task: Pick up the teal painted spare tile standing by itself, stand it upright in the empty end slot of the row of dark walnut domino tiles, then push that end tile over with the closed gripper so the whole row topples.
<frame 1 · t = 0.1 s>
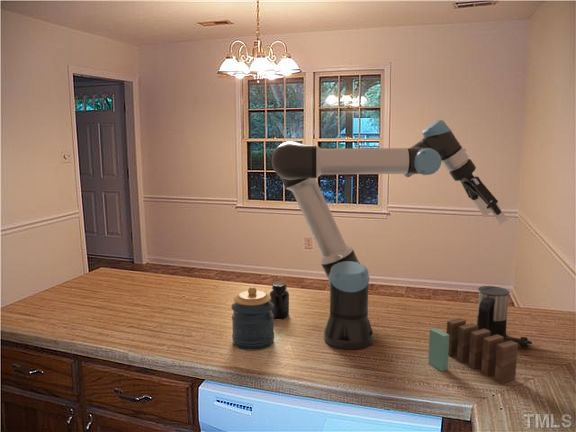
hand: (495, 218, 154), 36 cm above the countertop, tool tilted 35°, fingers open, 13 cm apart
domino 2: (466, 359, 135), on the countertop
milk frother: (502, 340, 148), on the countertop
domino 5: (504, 380, 124), on the countertop
domino 1: (454, 353, 139), on the countertop
domino 4: (491, 372, 127), on the countertop
domino 3: (478, 366, 131), on the countertop
canister: (253, 342, 148), on the countertop
supplement bottle: (279, 317, 168), on the countertop
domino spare: (437, 366, 131), on the countertop
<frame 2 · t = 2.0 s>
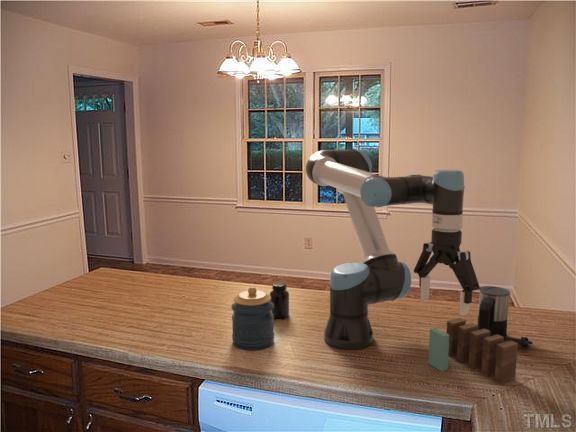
hand: (443, 306, 129), 17 cm above the countertop, tool pointing down, fingers open, 13 cm apart
nothing on the countertop moved.
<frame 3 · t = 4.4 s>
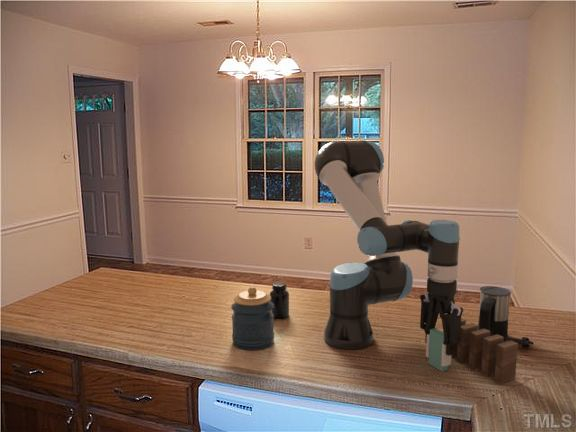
hand: (438, 360, 131), 2 cm above the countertop, tool pointing down, fingers closed on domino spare, 5 cm apart
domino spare: (437, 366, 131), on the countertop, touching gripper
everything else where it was.
when the fingers open (3 cm above the countertop, at t = 8.9 s): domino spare stays where it is, on the countertop.
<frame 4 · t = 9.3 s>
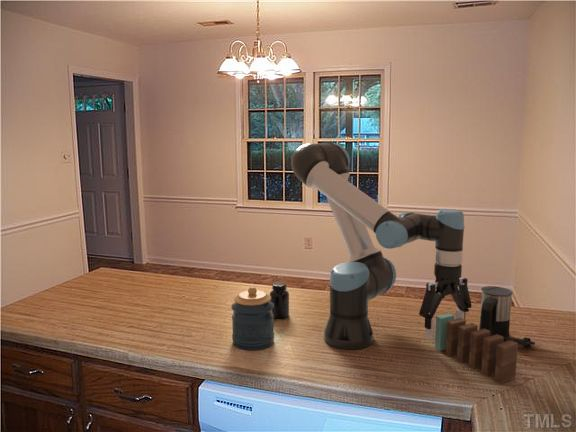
hand: (444, 334, 142), 4 cm above the countertop, tool pointing down, fingers open, 11 cm apart
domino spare: (443, 347, 142), on the countertop
everything else where it was.
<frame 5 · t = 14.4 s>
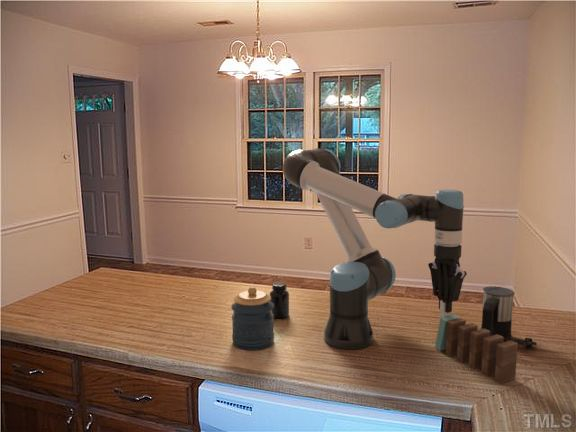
hand: (444, 321, 142), 8 cm above the countertop, tool pointing down, fingers closed
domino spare: (443, 347, 142), on the countertop, tilted 10°
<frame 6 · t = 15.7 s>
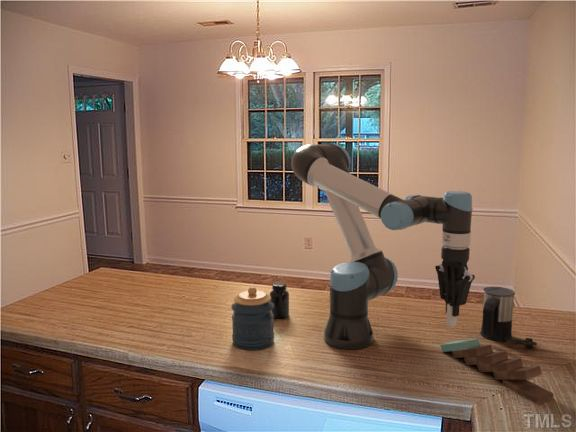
hand: (451, 325, 139), 8 cm above the countertop, tool pointing down, fingers closed
domino 2: (471, 359, 133), point 1 cm above the countertop, tilted 63°, touching domino 1, domino 3
domino 5: (509, 380, 122), on the countertop, tilted 90°, touching domino 4
domino 1: (459, 352, 137), point 1 cm above the countertop, tilted 63°, touching domino 2, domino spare
domino 4: (501, 373, 125), point 1 cm above the countertop, tilted 64°, touching domino 3, domino 5
domino 3: (484, 365, 129), point 1 cm above the countertop, tilted 64°, touching domino 2, domino 4
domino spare: (447, 346, 141), point 1 cm above the countertop, tilted 63°, touching domino 1
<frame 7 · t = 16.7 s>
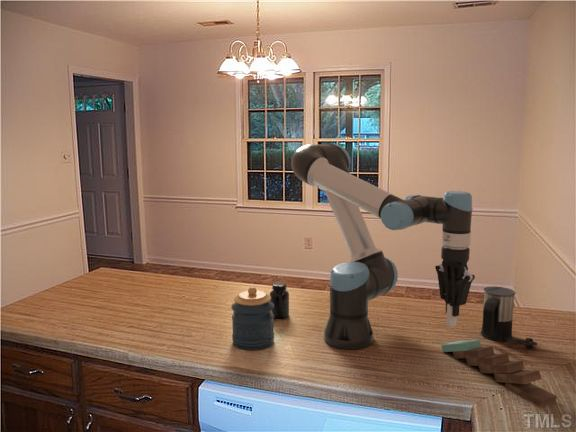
hand: (451, 325, 139), 8 cm above the countertop, tool pointing down, fingers closed
domino 2: (474, 360, 132), point 1 cm above the countertop, tilted 64°, touching domino 3
domino 5: (512, 383, 121), on the countertop, tilted 90°
domino 1: (460, 353, 137), point 1 cm above the countertop, tilted 65°, touching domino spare
domino 4: (502, 375, 124), point 1 cm above the countertop, tilted 66°
domino 3: (486, 367, 129), point 1 cm above the countertop, tilted 64°, touching domino 2
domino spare: (448, 346, 141), point 1 cm above the countertop, tilted 65°, touching domino 1
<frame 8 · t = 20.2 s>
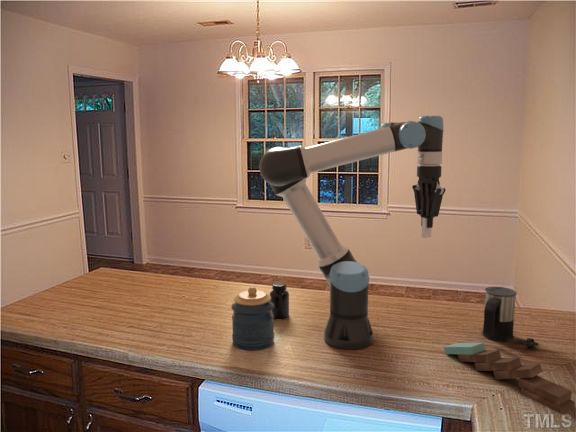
hand: (426, 237, 157), 29 cm above the countertop, tool pointing down, fingers closed
domino 2: (481, 364, 130), point 1 cm above the countertop, tilted 67°, touching domino 1, domino 3
domino 5: (527, 389, 118), on the countertop, tilted 90°, touching domino 4
domino 1: (464, 355, 135), point 1 cm above the countertop, tilted 68°, touching domino 2, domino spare
domino 4: (525, 379, 119), point 2 cm above the countertop, tilted 90°, touching domino 3, domino 5
domino 3: (499, 372, 125), point 1 cm above the countertop, tilted 65°, touching domino 2, domino 4
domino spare: (451, 348, 139), point 1 cm above the countertop, tilted 68°, touching domino 1
at the end: domino 5 tilted 90°; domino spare tilted 68° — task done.
